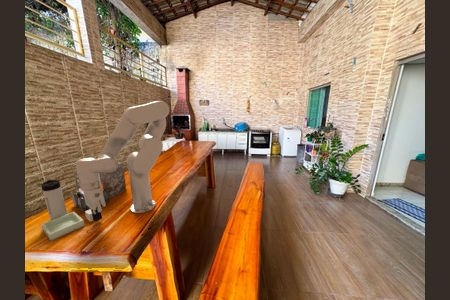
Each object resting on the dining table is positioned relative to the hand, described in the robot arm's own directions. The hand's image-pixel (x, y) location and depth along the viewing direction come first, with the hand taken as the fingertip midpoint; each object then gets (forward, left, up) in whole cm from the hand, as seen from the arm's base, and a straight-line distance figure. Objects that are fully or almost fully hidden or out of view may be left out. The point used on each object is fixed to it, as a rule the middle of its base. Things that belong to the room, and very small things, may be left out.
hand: (97, 219), depth 82 cm
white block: (+6, 0, -2) cm, 7 cm away
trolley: (+22, -5, -1) cm, 23 cm away
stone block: (+25, -20, -2) cm, 32 cm away
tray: (+9, +10, -1) cm, 14 cm away
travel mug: (+20, +9, -2) cm, 22 cm away
